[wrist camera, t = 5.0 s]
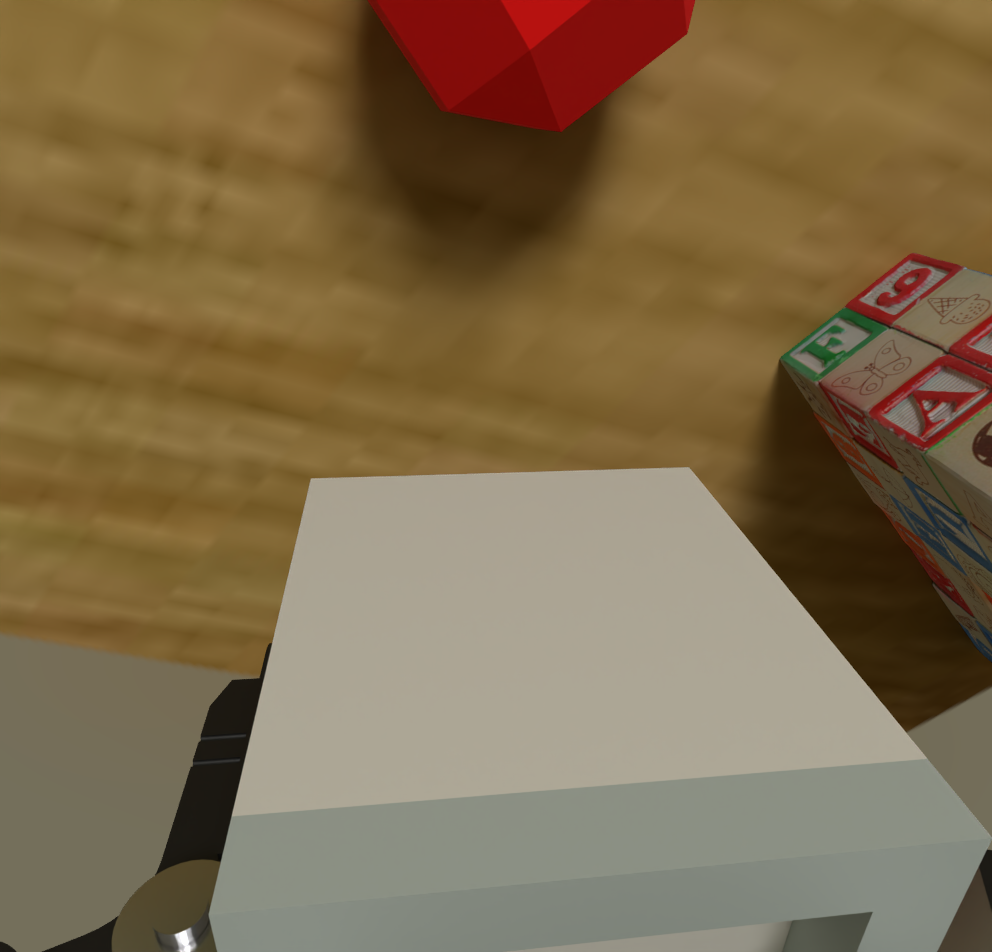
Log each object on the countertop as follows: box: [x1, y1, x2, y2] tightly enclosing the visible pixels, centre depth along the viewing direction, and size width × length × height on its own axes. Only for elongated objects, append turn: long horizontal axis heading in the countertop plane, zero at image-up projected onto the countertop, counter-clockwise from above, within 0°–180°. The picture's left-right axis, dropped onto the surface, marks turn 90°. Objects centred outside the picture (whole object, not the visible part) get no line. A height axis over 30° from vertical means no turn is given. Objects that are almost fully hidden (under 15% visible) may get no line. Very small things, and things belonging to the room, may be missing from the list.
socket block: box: [209, 467, 992, 952], centre depth 10 cm, size 6×6×7 cm
